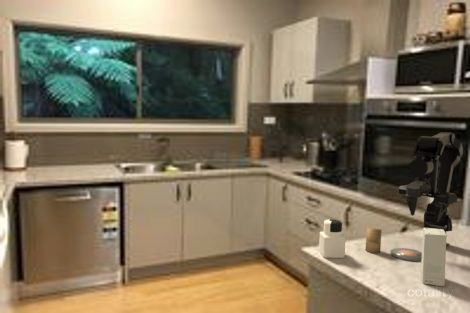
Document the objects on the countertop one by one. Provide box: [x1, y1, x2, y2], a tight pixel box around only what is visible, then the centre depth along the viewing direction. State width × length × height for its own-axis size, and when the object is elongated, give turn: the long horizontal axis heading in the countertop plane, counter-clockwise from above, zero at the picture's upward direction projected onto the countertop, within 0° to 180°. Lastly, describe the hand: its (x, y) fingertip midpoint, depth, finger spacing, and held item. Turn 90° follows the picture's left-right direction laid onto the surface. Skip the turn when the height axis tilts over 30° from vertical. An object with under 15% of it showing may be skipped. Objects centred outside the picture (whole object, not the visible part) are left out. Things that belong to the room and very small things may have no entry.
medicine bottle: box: [318, 218, 346, 259], centre depth 139 cm, size 7×7×12 cm
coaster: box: [390, 247, 422, 262], centre depth 140 cm, size 11×11×1 cm
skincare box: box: [420, 227, 448, 287], centre depth 119 cm, size 8×6×15 cm
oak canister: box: [364, 226, 382, 254], centre depth 144 cm, size 5×5×8 cm
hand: (424, 218), depth 140 cm, fingers open, 9 cm apart
